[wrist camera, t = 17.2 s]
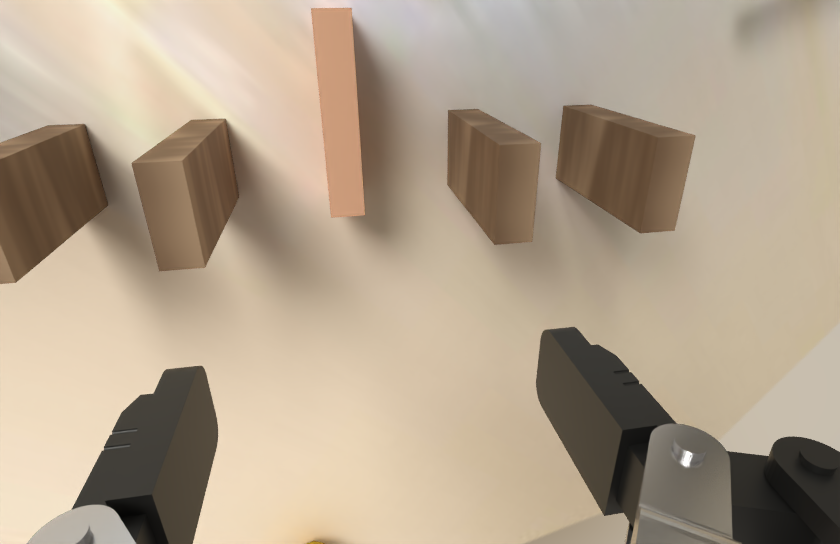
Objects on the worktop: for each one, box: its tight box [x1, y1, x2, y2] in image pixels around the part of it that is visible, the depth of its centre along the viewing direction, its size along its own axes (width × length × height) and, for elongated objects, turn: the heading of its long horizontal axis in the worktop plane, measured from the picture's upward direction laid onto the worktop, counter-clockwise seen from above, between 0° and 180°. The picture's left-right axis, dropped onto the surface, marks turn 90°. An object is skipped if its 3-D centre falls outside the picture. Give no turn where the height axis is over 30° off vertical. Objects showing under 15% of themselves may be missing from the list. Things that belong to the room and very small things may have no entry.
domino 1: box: [0, 124, 108, 284], centre depth 26 cm, size 2×5×11 cm, turn 1°
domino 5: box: [556, 105, 695, 233], centre depth 31 cm, size 2×5×11 cm, turn 0°
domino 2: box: [132, 119, 239, 271], centre depth 27 cm, size 2×5×11 cm, turn 0°
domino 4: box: [447, 109, 541, 245], centre depth 30 cm, size 2×5×11 cm, turn 1°
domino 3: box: [311, 8, 365, 218], centre depth 30 cm, size 2×5×11 cm
